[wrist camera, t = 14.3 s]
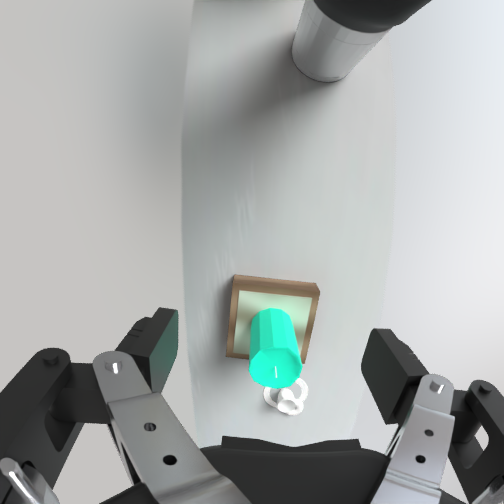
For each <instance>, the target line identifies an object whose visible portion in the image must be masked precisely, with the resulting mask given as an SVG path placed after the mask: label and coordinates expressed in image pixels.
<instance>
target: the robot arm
mask: <svg viewBox="0 0 504 504" xmlns="http://www.w3.org/2000/svg"><path fill="white" fill-rule="evenodd" d="M430 1H431V0H305V3H304V6H303V10H302V13H301V17H300V20H299V24H298V27H297V31H296V34H295V37H294V41H293V45H292V51H291V52H292V58H293V60H294V63H295V64H296V66H297V67H298V69H299V70H300V71H301V72H302V73H304V74H305V75H306V76H308V77H310V78H312V79H314V80H318V81H321V82H334V81H337V80H340V79H342V78H344V77H345V76H346V75H347V74H348V73H349V72H350V71H351V70H352V69H353V68H354V67H355V66H356V65H357V64H358V63H359V62H360V61H361V60H362V58H363V57H364V56H365V55H366V54H367V53H368V52H369V51H370V50H371V49H372V48H373V47H374V46H375V45H376V44H377V43H378V42H379V41H380V40H381V39H382V38H383V36H384V35H385V34H386V33H387V32H388V31H389V30H390V29H391V28H392V27H393V26H396V25H399V24H401V23H403V22H404V21H406V20H407V19H408V18H409V17H410V16H412V14H414V13H415V12H417V11H418V10H419V9H421V8H422V7H423V6H425V5H426V4H427V3H429V2H430ZM177 350H178V311H177V310H174V309H168V308H161V307H160V308H158V310H157V311H156V312H155V314H154V315H153V317H152V318H149V317H144V318H143V319H141V320H139V321H137V322H136V323H135V324H134V326H133V327H132V329H131V330H130V331H129V332H128V333H127V335H126V336H125V337H124V339H123V340H122V341H121V343H120V344H119V345H118V347H117V348H116V349H115V351H108V352H104V353H101V354H99V355H98V356H96V357H95V359H94V360H93V363H89V364H88V363H87V364H86V363H71V360H70V356H69V354H68V353H67V352H66V351H64V350H62V349H59V348H47V349H43V350H41V351H39V352H37V353H36V354H35V355H34V356H33V357H32V358H31V359H30V360H29V362H27V364H26V365H25V366H24V367H23V368H22V369H21V370H20V371H19V372H18V373H17V374H16V376H15V377H14V378H13V379H12V380H11V381H10V382H9V384H8V385H7V386H6V387H5V388H4V389H3V390H2V392H1V393H0V504H60V503H59V500H58V498H57V496H56V495H55V493H54V492H53V491H52V490H53V487H54V485H55V483H56V481H57V479H58V476H59V474H60V472H61V470H62V468H63V466H64V463H65V462H66V459H67V457H68V455H69V453H70V451H71V449H72V447H73V445H74V443H75V441H76V439H77V437H78V435H79V433H80V431H81V429H82V427H83V425H84V423H99V424H107V427H108V430H109V432H110V434H111V437H112V440H113V442H114V444H115V446H116V449H117V451H118V453H119V456H120V458H121V460H122V462H123V465H124V467H125V469H126V472H127V474H128V477H129V479H130V481H131V483H132V485H133V486H132V487H130V488H128V489H126V490H125V491H123V492H121V493H119V494H117V495H115V496H113V497H111V498H109V499H107V500H106V501H104V502H101V503H99V504H466V503H464V502H462V501H460V500H459V499H457V498H455V497H453V496H452V495H450V494H448V493H446V492H445V491H443V490H441V489H440V488H439V486H440V482H441V479H442V475H443V471H444V468H445V464H446V460H447V456H448V458H449V459H450V462H451V464H452V466H453V468H454V470H455V473H456V475H457V477H458V479H459V481H460V483H461V486H462V488H463V491H464V493H465V495H466V497H467V500H468V502H469V504H504V397H503V396H502V395H501V394H500V392H499V391H498V390H497V388H496V387H495V386H493V385H492V384H490V383H489V382H486V381H483V380H475V381H473V382H472V383H471V385H470V387H469V389H468V390H467V391H462V390H454V387H453V384H452V383H451V382H450V381H449V380H448V379H446V378H445V377H443V376H440V375H436V374H429V372H428V371H427V370H426V368H425V367H424V366H423V364H422V363H421V362H420V360H418V358H417V357H416V355H415V354H413V351H412V350H411V349H410V348H409V346H407V345H406V344H405V343H403V342H402V341H400V340H399V339H398V338H397V337H396V336H395V334H394V333H393V332H392V330H391V329H376V328H374V329H373V330H372V331H371V333H370V336H369V339H368V343H367V346H366V349H365V352H364V355H363V358H362V363H361V371H362V374H363V376H364V378H365V381H366V383H367V385H368V387H369V389H370V391H371V393H372V396H373V398H374V400H375V402H376V404H377V406H378V409H379V411H380V413H381V415H382V417H383V420H384V422H385V424H386V425H387V424H396V423H398V428H397V429H396V431H395V433H394V435H393V437H392V439H391V441H390V443H389V445H388V448H387V450H386V452H385V454H382V453H379V452H377V451H373V450H369V449H364V448H361V446H360V443H359V440H358V439H350V440H327V441H323V442H319V443H314V444H309V445H304V446H299V447H290V446H285V445H281V444H276V443H272V442H268V441H264V440H260V439H251V438H239V437H229V436H222V443H221V445H217V446H209V447H204V448H200V449H199V448H198V447H197V445H196V444H195V443H194V441H193V440H192V439H191V437H190V436H189V434H188V433H187V432H186V430H185V429H184V428H183V426H182V424H181V423H180V422H179V420H178V419H177V417H176V416H175V414H174V413H173V411H172V410H171V408H170V407H169V405H168V404H167V402H166V401H165V399H164V398H163V396H162V395H161V392H162V390H163V387H164V385H165V383H166V380H167V377H168V375H169V373H170V371H171V368H172V366H173V363H174V361H175V359H176V356H177ZM481 425H482V426H483V428H484V429H485V431H486V432H487V434H488V436H489V442H488V445H487V447H486V449H485V450H484V451H483V449H482V448H481V446H480V444H479V442H478V441H477V439H476V437H475V436H474V435H475V434H476V433H477V431H478V429H479V428H480V427H481Z"/></svg>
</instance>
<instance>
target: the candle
mask: <svg viewBox="0 0 504 504" xmlns="http://www.w3.org/2000/svg"><path fill="white" fill-rule="evenodd" d="M301 370H302V362H301V358H300V354H299V349H298V345H297V340H296V336H295V332H294V327H293V324H292V321H291V318H290V316H289V315H288V314H287V313H286V312H284V311H283V310H282V309H276V308H268V309H265V310H262V311H259V312H258V313H257V315H256V316H255V317H254V318H253V319H252V324H251V332H250V355H249V372H250V374H251V376H252V378H253V380H254V381H255V382H257V383H259V384H261V385H262V386H265V387H270V388H276V389H278V388H283V387H289V386H291V385H292V384H293V383H294V382H295V381H296V380H297V379H298V378H299V376H300V373H301Z"/></svg>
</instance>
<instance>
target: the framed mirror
mask: <svg viewBox="0 0 504 504" xmlns="http://www.w3.org/2000/svg"><path fill="white" fill-rule="evenodd" d="M319 295H320V291H319V289H318V287H317V285H316V283H308V282H299V281H289V280H279V279H270V278H261V277H252V276H243V275H234V280H233V287H232V297H231V307H230V318H229V328H228V339H227V350H226V357H232V358H241V359H249V355H250V332H251V324H252V319H253V318H254V317H255V316H256V315H257V313H258V312H259V311H262V310H265V309H268V308H276V309H282V310H283V311H284V312H286V313H287V314H288V315H289V316H290V318H291V321H292V324H293V327H294V332H295V336H296V340H297V345H298V349H299V354H300V358H301V362H302V364H305V360H306V356H307V351H308V347H309V342H310V338H311V333H312V329H313V324H314V320H315V315H316V310H317V305H318V300H319Z"/></svg>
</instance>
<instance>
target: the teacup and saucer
mask: <svg viewBox="0 0 504 504" xmlns="http://www.w3.org/2000/svg"><path fill="white" fill-rule="evenodd" d="M295 382H296V383H297V384H299V385H300V387H301V389H302V394H301V396H300V398H299V399H295V398H294V395H293V393H292V391H291V390H289V389H286V388H282V389H281V390H280V392H279V394H278V399H277V403H276V402H274V401H273V400H272V399H271V398H270V394H269V393H270V389H271V388H270V387H265V388H264V391H263V396H264V399H265V401H266V402H267V403H268V404H269V405H271V406H273V407H275V408H278V410H279V411H281V412H285V413H286V414H288V415H291V416H293V415H298V414H299V413H301V412H302V410H303V403H302V402H303V401H304V400H305V399H306V397H307V395H308V387H307V385H306V383H305V382H304V381H303V380H302V379H300V378H298V379H297V380H296V381H295ZM296 406H297V407H296ZM295 407H296V409H295Z"/></svg>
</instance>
